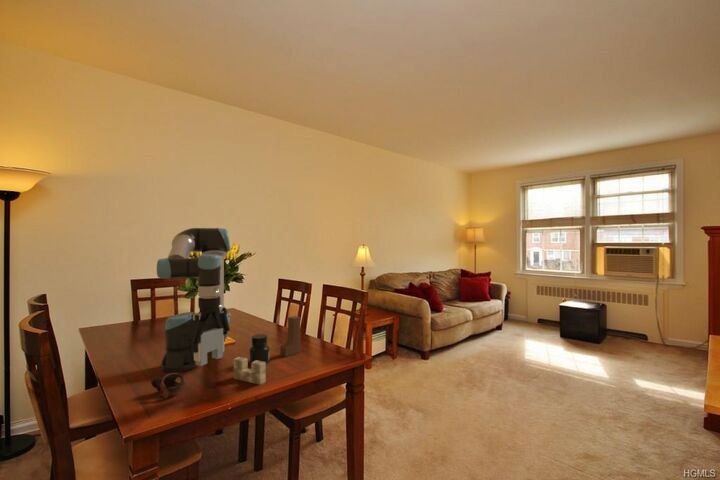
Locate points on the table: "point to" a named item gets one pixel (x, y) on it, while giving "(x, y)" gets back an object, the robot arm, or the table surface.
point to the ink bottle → (259, 349)
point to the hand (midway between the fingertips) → (209, 355)
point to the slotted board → (250, 371)
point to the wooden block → (292, 337)
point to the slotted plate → (211, 345)
